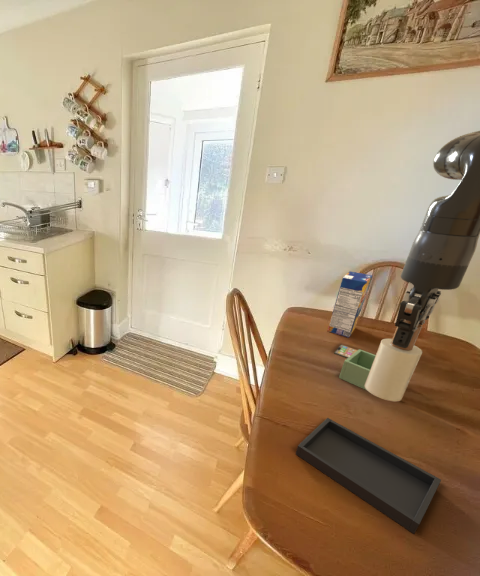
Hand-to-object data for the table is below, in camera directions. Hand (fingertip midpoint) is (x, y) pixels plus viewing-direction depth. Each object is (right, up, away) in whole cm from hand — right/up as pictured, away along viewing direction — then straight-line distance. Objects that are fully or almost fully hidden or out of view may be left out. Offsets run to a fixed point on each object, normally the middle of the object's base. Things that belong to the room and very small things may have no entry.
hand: (403, 342), depth 61 cm
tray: (-4, -28, +5) cm, 28 cm away
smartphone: (+28, -13, +42) cm, 52 cm away
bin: (+20, -17, +31) cm, 41 cm away
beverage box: (+36, -6, +61) cm, 71 cm away
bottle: (0, -11, +4) cm, 12 cm away
